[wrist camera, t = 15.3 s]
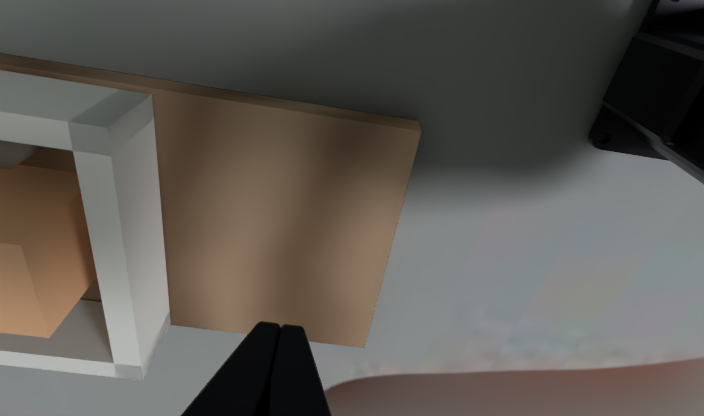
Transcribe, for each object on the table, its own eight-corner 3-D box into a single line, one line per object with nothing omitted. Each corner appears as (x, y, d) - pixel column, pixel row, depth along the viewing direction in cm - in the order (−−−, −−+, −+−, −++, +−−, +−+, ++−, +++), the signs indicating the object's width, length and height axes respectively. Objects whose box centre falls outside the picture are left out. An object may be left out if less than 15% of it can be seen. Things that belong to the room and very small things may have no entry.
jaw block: (97, 175, 19) (20, 245, 14) (112, 257, 21) (49, 338, 17) (-12, 160, 18) (-125, 227, 14) (15, 245, 21) (-75, 324, 16)
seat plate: (418, 120, 18) (428, 152, 16) (364, 331, 25) (365, 378, 22) (-68, 42, 17) (-150, 61, 14) (14, 288, 24) (-31, 333, 21)
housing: (151, 94, 17) (106, 127, 14) (170, 323, 23) (143, 380, 20) (-70, 58, 16) (-168, 86, 13) (14, 304, 22) (-38, 360, 20)
